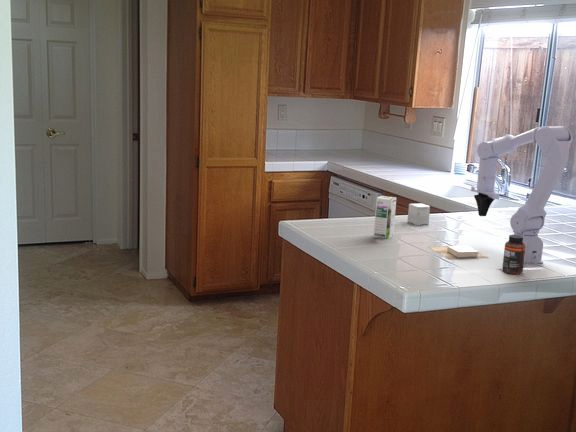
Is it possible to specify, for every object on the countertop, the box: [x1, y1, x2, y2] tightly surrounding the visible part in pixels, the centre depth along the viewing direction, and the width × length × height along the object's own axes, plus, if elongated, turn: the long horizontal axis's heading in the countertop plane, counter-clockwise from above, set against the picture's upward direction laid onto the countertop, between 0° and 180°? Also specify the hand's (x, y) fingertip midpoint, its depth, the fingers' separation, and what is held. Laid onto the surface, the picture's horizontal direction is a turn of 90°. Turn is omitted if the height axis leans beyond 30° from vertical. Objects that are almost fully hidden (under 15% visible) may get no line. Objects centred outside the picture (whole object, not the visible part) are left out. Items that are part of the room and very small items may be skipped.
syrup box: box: [373, 195, 397, 239], centre depth 235 cm, size 6×6×14 cm
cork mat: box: [428, 244, 489, 260], centre depth 219 cm, size 15×14×1 cm
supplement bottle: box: [501, 234, 525, 275], centre depth 200 cm, size 6×6×11 cm
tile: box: [447, 245, 479, 258], centre depth 216 cm, size 2×7×7 cm
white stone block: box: [406, 203, 431, 226], centre depth 260 cm, size 6×6×7 cm
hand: (482, 215), depth 229 cm, fingers closed
